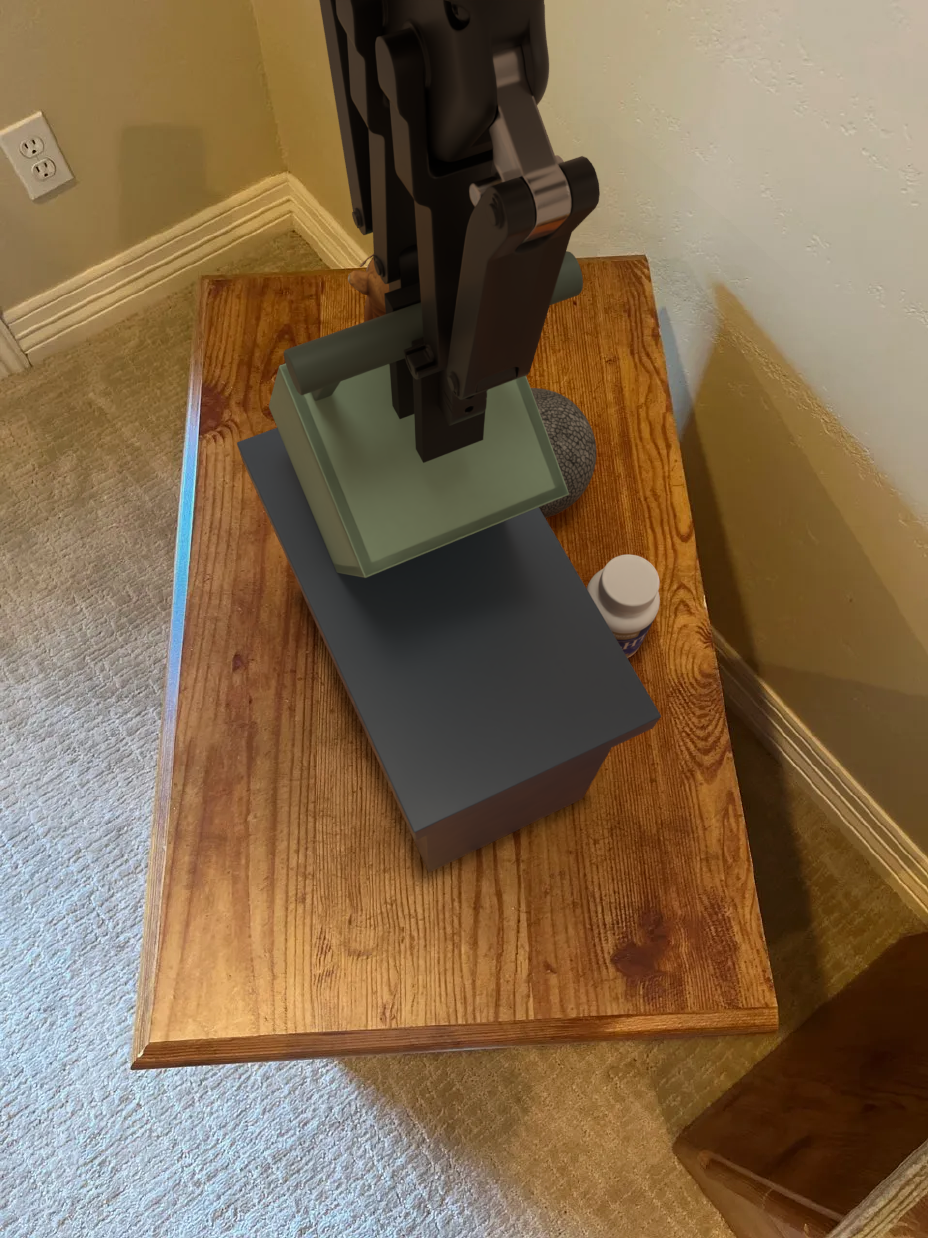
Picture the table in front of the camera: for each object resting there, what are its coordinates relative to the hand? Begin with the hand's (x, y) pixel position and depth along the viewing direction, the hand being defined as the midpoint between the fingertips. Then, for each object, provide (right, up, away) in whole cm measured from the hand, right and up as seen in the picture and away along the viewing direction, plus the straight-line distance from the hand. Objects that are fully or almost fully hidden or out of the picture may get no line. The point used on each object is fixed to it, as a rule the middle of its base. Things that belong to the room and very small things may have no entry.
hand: (437, 421), depth 39 cm
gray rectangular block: (-1, -14, +31) cm, 34 cm away
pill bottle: (+12, -9, +34) cm, 37 cm away
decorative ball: (+6, +2, +39) cm, 39 cm away
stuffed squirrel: (-4, +11, +42) cm, 44 cm away
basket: (+1, -4, +4) cm, 6 cm away
